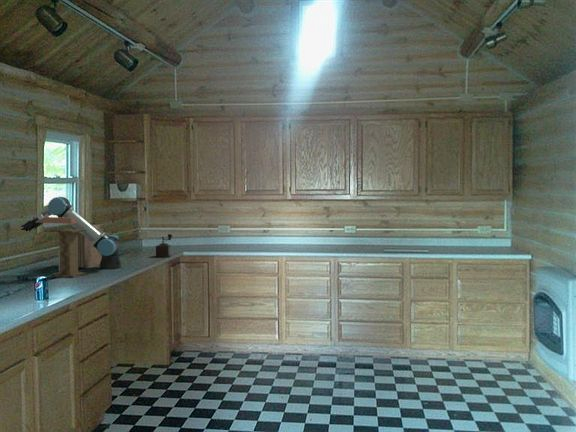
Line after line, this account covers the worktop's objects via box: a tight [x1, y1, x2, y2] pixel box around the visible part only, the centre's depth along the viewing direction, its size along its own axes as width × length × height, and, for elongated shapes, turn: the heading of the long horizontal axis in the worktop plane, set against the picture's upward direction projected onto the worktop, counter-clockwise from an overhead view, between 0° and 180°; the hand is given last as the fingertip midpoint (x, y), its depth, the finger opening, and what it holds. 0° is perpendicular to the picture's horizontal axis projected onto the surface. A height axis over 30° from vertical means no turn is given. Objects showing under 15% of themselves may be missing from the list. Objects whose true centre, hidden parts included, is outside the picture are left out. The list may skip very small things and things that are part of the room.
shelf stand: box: [50, 228, 87, 279], centre depth 378 cm, size 17×13×30 cm
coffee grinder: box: [155, 233, 173, 258], centre depth 477 cm, size 16×11×18 cm
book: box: [72, 223, 104, 269], centre depth 422 cm, size 25×9×30 cm, turn 167°
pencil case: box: [33, 216, 76, 225], centre depth 380 cm, size 30×4×4 cm, turn 72°
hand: (45, 216), depth 382 cm, fingers closed on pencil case, 4 cm apart
